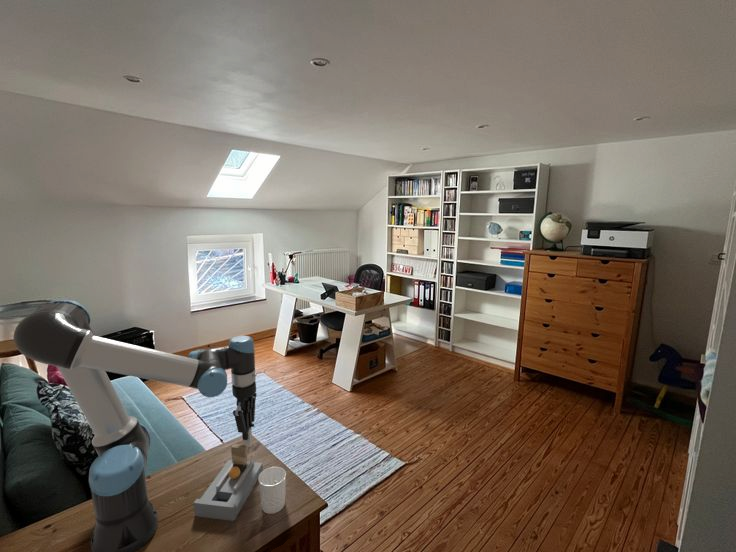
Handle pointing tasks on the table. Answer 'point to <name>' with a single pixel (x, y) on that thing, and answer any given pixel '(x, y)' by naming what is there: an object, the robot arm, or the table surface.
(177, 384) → the robot arm
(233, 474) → the ball
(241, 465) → the tan block
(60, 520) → the table surface
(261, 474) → the white cup
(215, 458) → the table surface
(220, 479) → the board
